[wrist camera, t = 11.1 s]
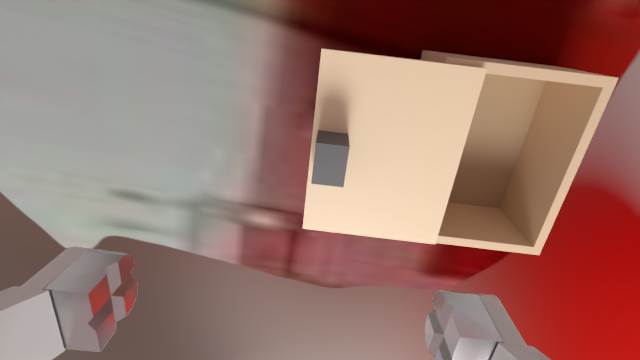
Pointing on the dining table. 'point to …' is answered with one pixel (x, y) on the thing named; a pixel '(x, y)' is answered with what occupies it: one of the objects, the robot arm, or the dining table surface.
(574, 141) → the carton
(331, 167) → the carton lid
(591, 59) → the dining table surface
